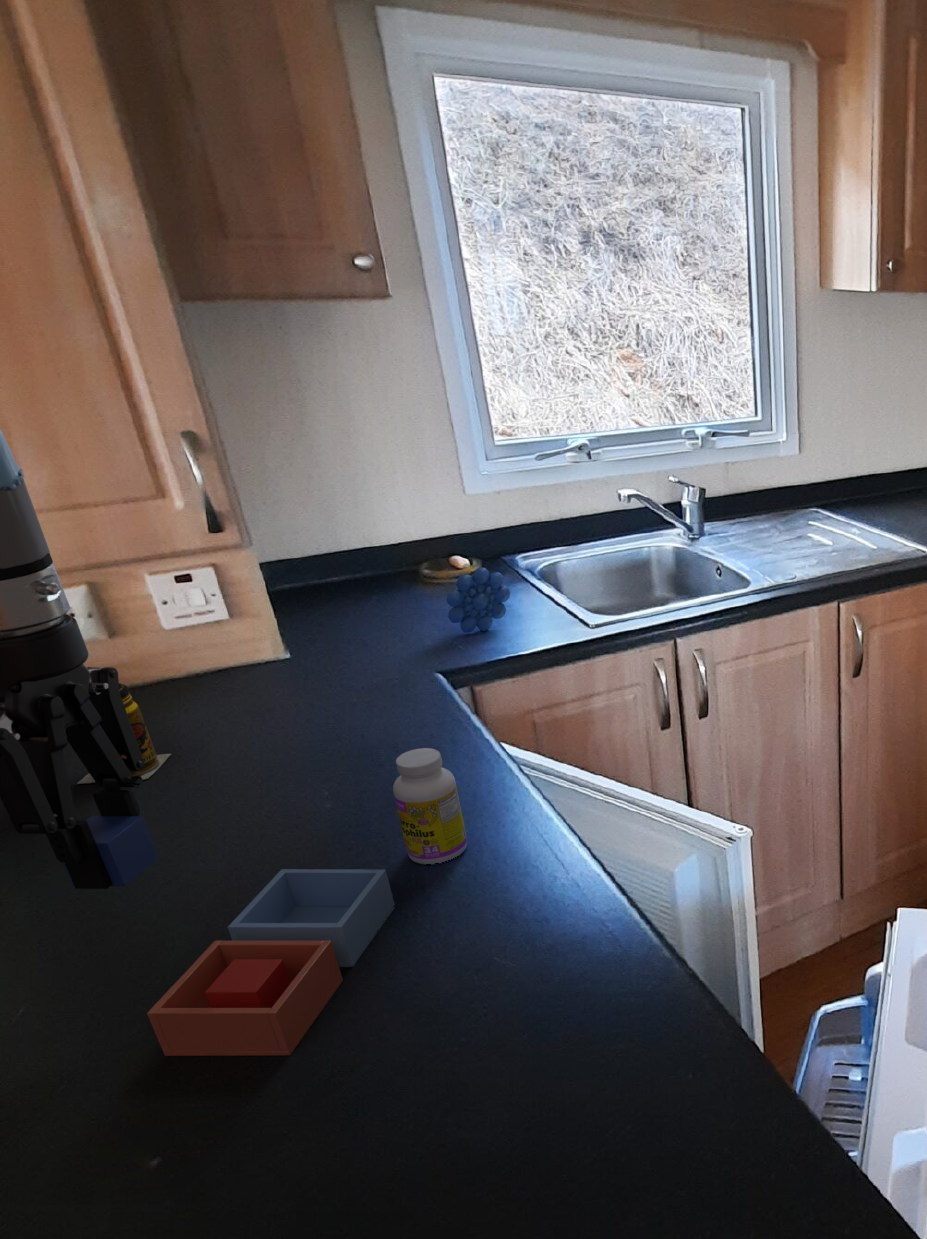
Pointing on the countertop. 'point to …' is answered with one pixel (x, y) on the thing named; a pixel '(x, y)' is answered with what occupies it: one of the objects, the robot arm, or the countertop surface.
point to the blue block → (122, 846)
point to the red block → (249, 984)
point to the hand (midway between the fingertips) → (114, 868)
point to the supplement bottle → (428, 807)
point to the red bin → (246, 1031)
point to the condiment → (137, 738)
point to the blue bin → (319, 909)
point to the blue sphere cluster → (478, 600)
